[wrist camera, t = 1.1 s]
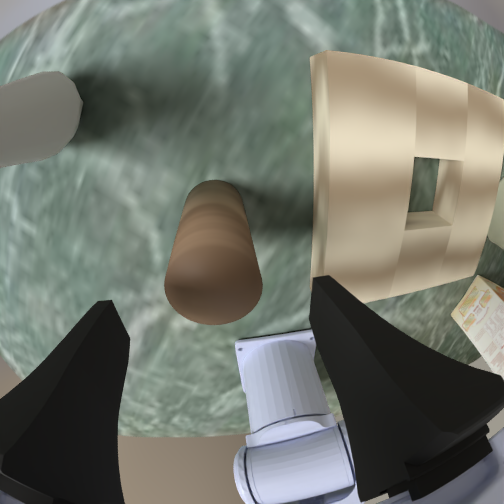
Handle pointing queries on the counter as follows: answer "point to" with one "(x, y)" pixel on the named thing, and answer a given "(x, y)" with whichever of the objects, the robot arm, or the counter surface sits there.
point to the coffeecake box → (484, 321)
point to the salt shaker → (37, 117)
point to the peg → (213, 258)
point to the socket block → (399, 174)
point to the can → (498, 218)
